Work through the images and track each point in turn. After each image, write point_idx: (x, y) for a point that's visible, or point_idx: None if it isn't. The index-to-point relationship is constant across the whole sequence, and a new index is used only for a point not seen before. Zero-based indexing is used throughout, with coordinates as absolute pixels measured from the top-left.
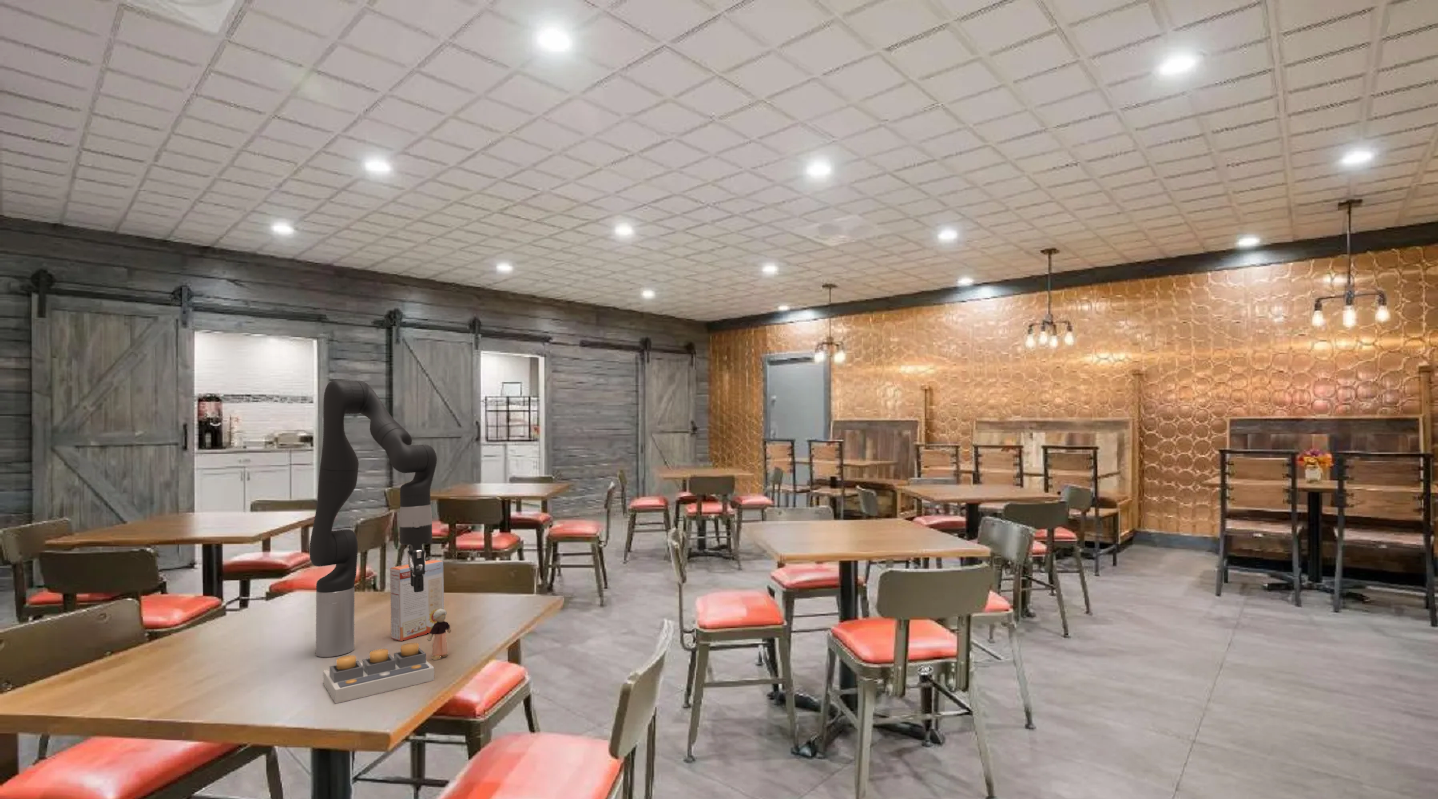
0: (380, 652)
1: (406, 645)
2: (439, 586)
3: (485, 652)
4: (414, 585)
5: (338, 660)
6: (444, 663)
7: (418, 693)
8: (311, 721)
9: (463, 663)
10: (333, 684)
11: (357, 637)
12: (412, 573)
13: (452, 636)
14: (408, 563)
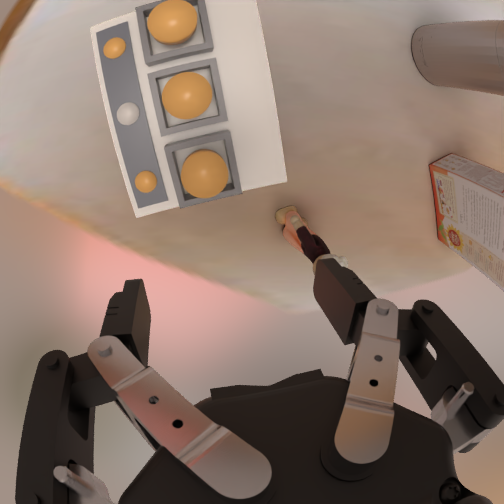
0: (174, 99)
1: (207, 167)
2: (492, 274)
3: (267, 298)
4: (121, 302)
5: (161, 4)
6: (242, 229)
7: (79, 181)
8: (39, 21)
9: (221, 262)
10: (129, 14)
11: (480, 109)
12: (347, 306)
13: (398, 249)
14: (359, 345)
